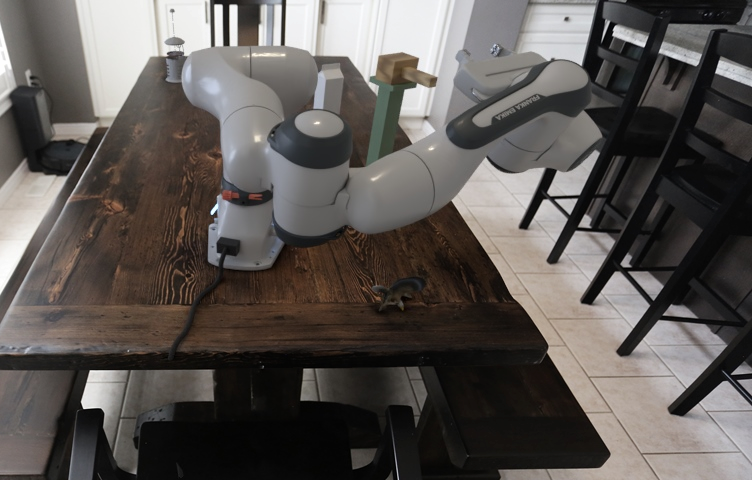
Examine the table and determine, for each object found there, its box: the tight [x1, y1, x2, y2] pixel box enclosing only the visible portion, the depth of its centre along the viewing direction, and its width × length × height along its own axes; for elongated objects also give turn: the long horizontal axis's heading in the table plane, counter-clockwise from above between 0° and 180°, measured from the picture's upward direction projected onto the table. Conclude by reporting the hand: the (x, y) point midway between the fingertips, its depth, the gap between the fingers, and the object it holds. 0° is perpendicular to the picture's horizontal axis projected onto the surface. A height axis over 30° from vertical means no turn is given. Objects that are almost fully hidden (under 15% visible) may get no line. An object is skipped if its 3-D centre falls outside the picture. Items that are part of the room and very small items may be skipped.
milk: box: [312, 62, 345, 115], centre depth 155 cm, size 6×6×22 cm
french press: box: [164, 8, 187, 84], centre depth 205 cm, size 10×12×25 cm
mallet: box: [374, 51, 439, 89], centre depth 118 cm, size 16×7×5 cm, turn 26°
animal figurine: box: [371, 275, 428, 312], centre depth 98 cm, size 8×7×9 cm
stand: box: [365, 75, 418, 167], centre depth 131 cm, size 9×8×26 cm
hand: (477, 49), depth 98 cm, fingers open, 8 cm apart
